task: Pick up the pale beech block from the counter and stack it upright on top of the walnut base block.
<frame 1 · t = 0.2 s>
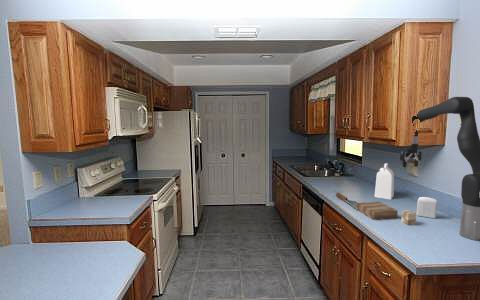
hand: (410, 166, 185), 29 cm above the worktop, tool pointing down, fingers open, 8 cm apart
meat cleaver: (352, 203, 202), on the worktop
beech block: (408, 223, 163), on the worktop
photo printer: (425, 216, 174), on the worktop
walnut base: (376, 213, 179), on the worktop
milk: (384, 196, 218), on the worktop
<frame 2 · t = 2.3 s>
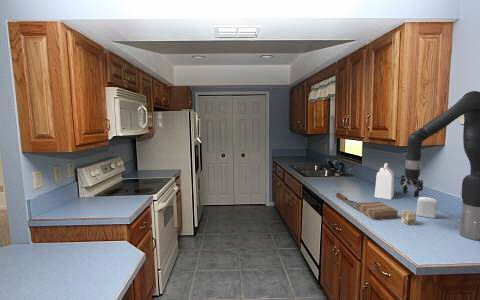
hand: (410, 195, 161), 17 cm above the worktop, tool pointing down, fingers open, 8 cm apart
nothing on the worktop moved.
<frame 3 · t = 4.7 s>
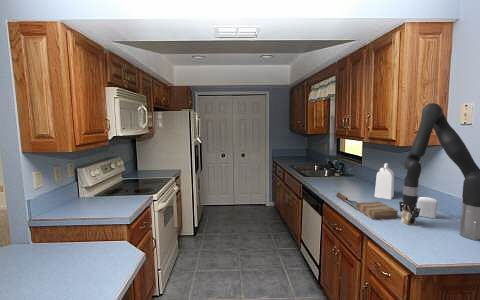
hand: (408, 221, 163), 1 cm above the worktop, tool pointing down, fingers closed on beech block, 5 cm apart
beech block: (408, 223, 163), on the worktop, touching gripper
everything else where it was.
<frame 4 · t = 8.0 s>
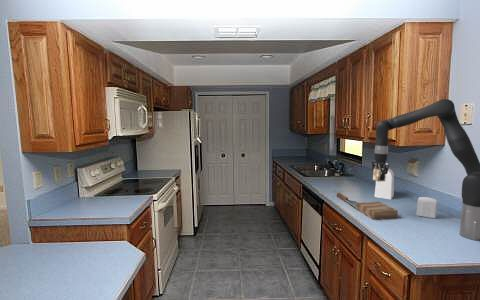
hand: (379, 179, 176), 23 cm above the worktop, tool pointing down, fingers closed on beech block, 5 cm apart
beech block: (378, 180, 176), point 22 cm above the worktop, touching gripper
everything else where it was.
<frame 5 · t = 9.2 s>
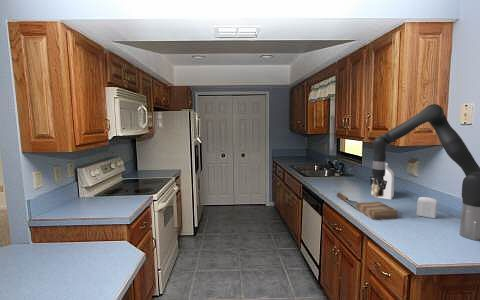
hand: (377, 194, 177), 13 cm above the worktop, tool pointing down, fingers closed on beech block, 5 cm apart
beech block: (377, 195, 177), point 12 cm above the worktop, touching gripper
everything else where it was.
when the fingers open (7 cm above the worktop, at t = 11.3 s): beech block drops 1 cm, resting on walnut base.
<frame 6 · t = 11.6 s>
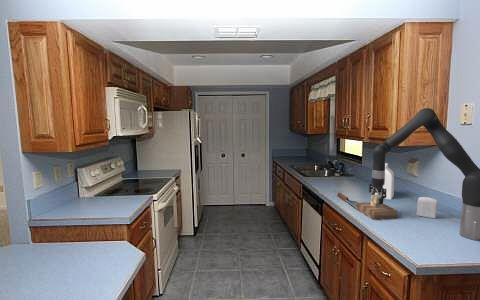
hand: (376, 201, 178), 8 cm above the worktop, tool pointing down, fingers open, 8 cm apart
beech block: (376, 206, 178), point 5 cm above the worktop, touching walnut base
everything else where it was.
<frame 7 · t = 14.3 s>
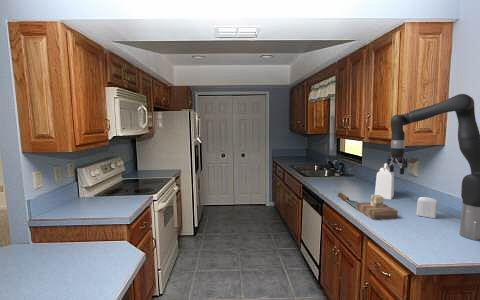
hand: (396, 173, 173), 27 cm above the worktop, tool pointing down, fingers open, 8 cm apart
meat cleaver: (353, 203, 202), on the worktop, touching walnut base
everything else where it was.
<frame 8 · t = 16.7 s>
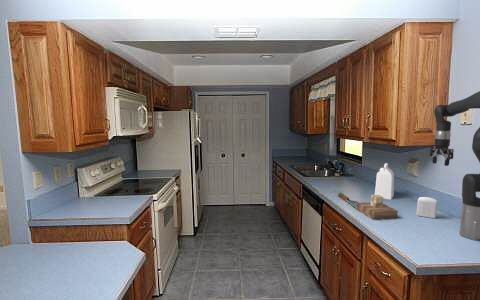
hand: (440, 164, 170), 33 cm above the worktop, tool pointing down, fingers open, 8 cm apart
nothing on the worktop moved.
at the end: beech block inside the target area on the walnut base (0.1 cm from its centre), point 5.0 cm above the walnut base's base; beech block tilted 0°; the gripper is holding nothing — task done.
